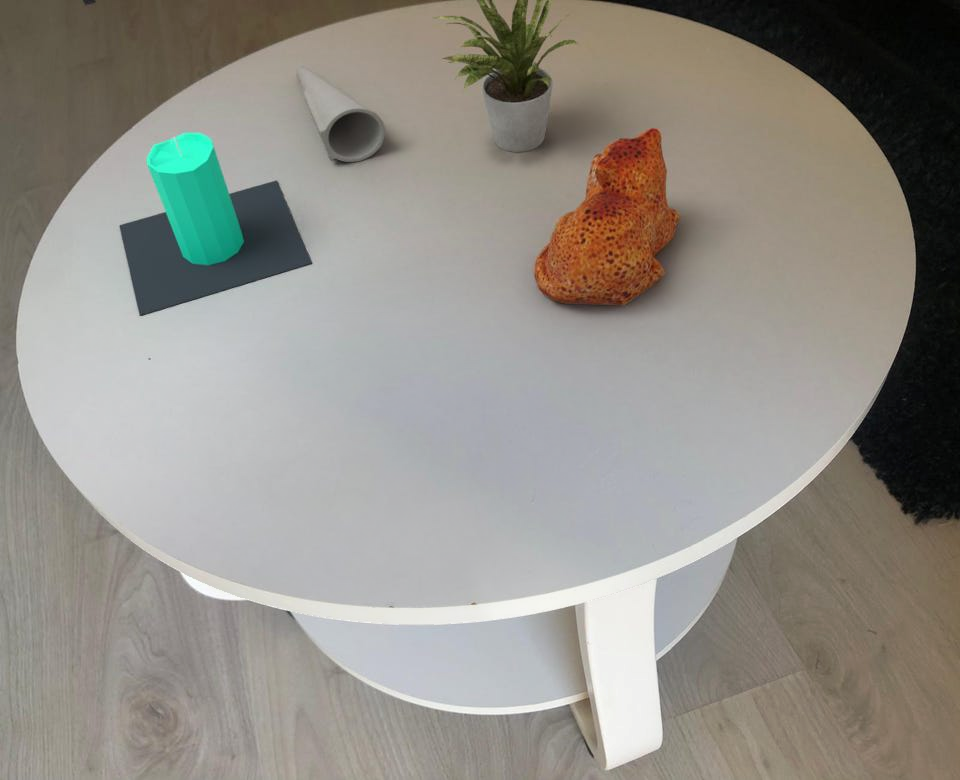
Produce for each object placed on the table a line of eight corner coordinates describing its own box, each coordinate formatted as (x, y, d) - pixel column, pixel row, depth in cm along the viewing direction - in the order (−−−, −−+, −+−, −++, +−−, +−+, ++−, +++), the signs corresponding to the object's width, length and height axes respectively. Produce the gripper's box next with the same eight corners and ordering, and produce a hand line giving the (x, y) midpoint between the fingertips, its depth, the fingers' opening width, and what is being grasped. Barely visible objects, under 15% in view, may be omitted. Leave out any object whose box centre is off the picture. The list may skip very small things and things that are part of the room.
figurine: (591, 196, 95) (592, 104, 88) (698, 225, 91) (708, 132, 84) (516, 295, 87) (511, 203, 79) (630, 333, 83) (636, 239, 75)
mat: (139, 316, 89) (139, 315, 89) (119, 226, 98) (119, 225, 98) (311, 263, 92) (311, 262, 92) (277, 181, 101) (276, 180, 101)
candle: (247, 221, 96) (213, 114, 87) (240, 262, 92) (204, 154, 83) (186, 227, 97) (146, 120, 88) (176, 268, 93) (133, 160, 84)
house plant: (462, 91, 109) (447, -58, 97) (588, 93, 107) (589, -58, 95) (438, 169, 100) (418, 16, 88) (575, 174, 98) (575, 17, 86)
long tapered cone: (354, 75, 116) (392, 149, 102) (302, 93, 116) (333, 170, 102) (338, 29, 112) (375, 99, 98) (285, 48, 112) (315, 121, 98)
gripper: (22, -346, 51) (128, -36, 63) (-275, -295, 48) (-105, 18, 61) (33, -313, 46) (145, 15, 58) (-296, -254, 44) (-107, 77, 56)
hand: (18, 16), depth 59 cm, fingers open, 8 cm apart
